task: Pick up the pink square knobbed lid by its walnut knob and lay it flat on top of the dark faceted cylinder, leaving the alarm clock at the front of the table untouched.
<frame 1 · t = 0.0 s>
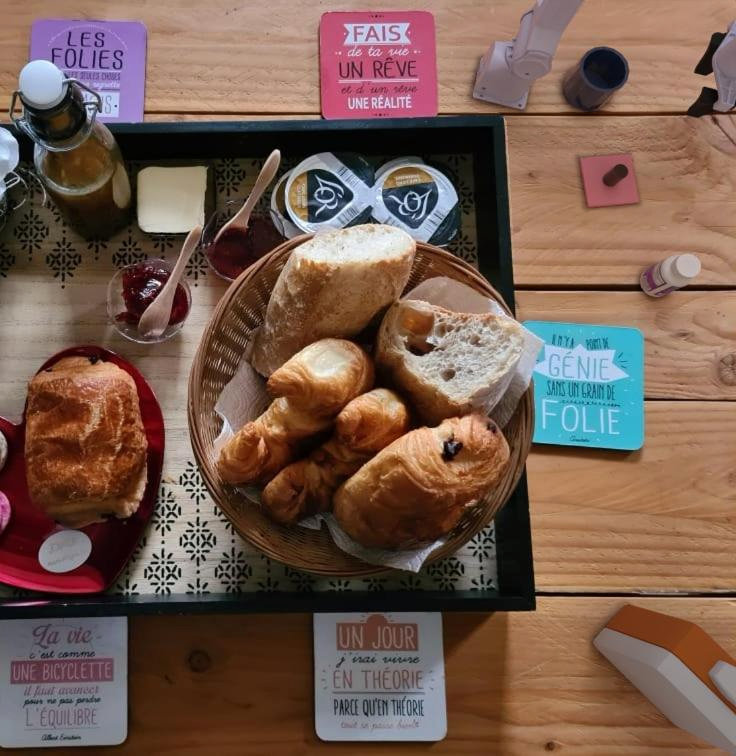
hand: (696, 93, 120), 10 cm above the table, tool pointing down, fingers open, 7 cm apart
pill bottle: (653, 282, 126), on the table
pink square knobbed lid: (608, 181, 128), on the table
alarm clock: (648, 662, 116), on the table
dark faceted cylinder: (585, 89, 131), on the table
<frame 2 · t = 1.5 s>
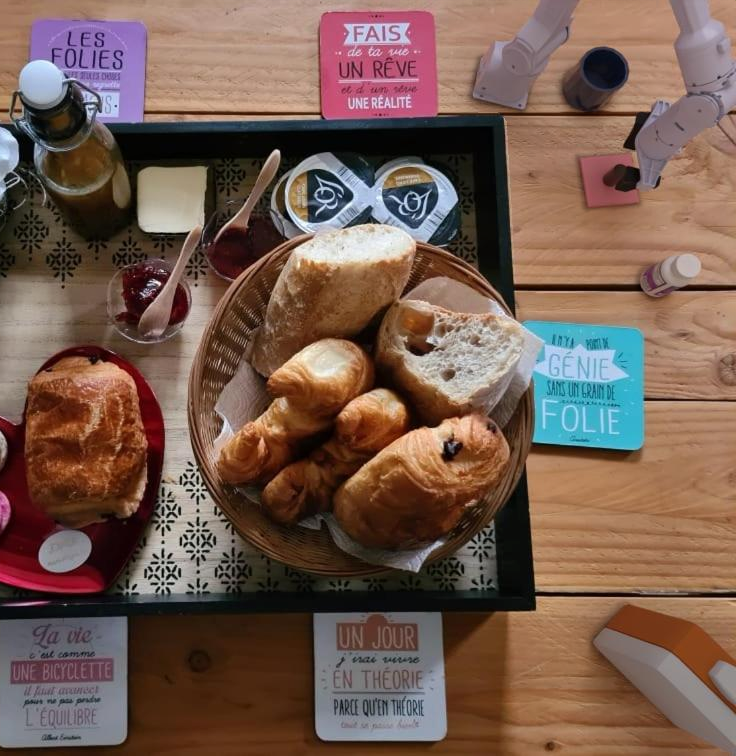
hand: (624, 168, 123), 5 cm above the table, tool pointing down, fingers open, 7 cm apart
nothing on the table moved.
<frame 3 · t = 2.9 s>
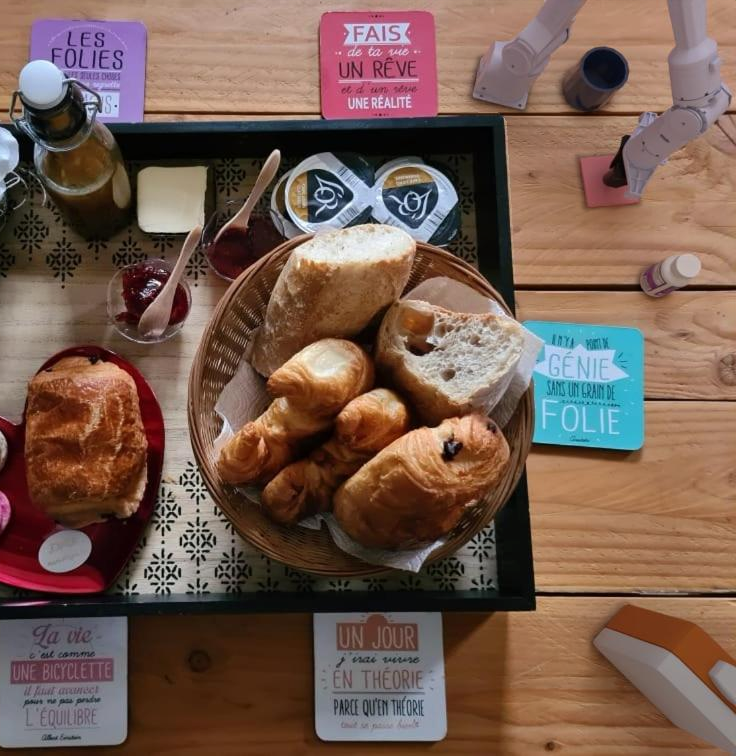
hand: (613, 176, 126), 2 cm above the table, tool pointing down, fingers closed on pink square knobbed lid, 2 cm apart
pink square knobbed lid: (608, 181, 128), on the table, touching gripper
everything else where it was.
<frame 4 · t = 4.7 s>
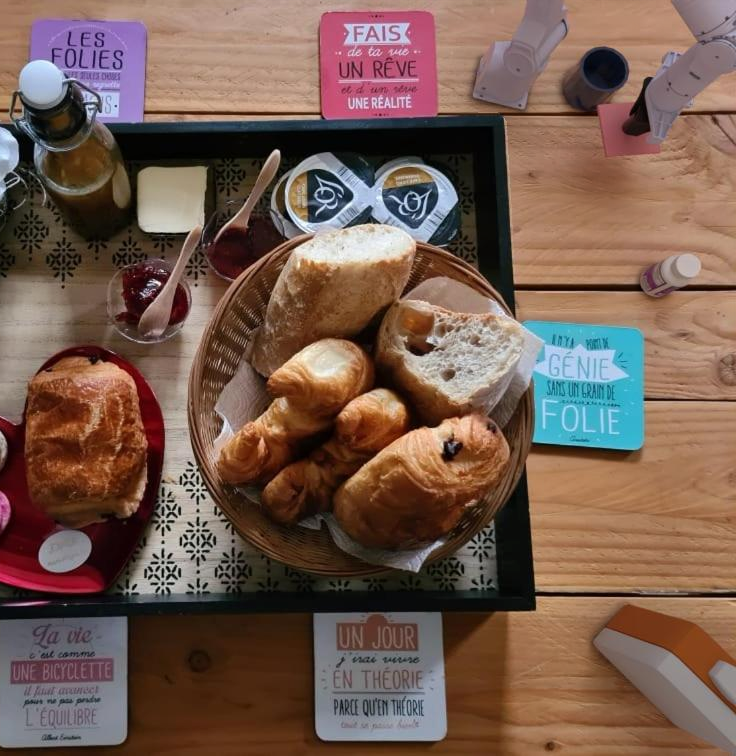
hand: (633, 124, 119), 10 cm above the table, tool pointing down, fingers closed on pink square knobbed lid, 2 cm apart
pink square knobbed lid: (627, 129, 121), point 9 cm above the table, touching gripper
everything else where it was.
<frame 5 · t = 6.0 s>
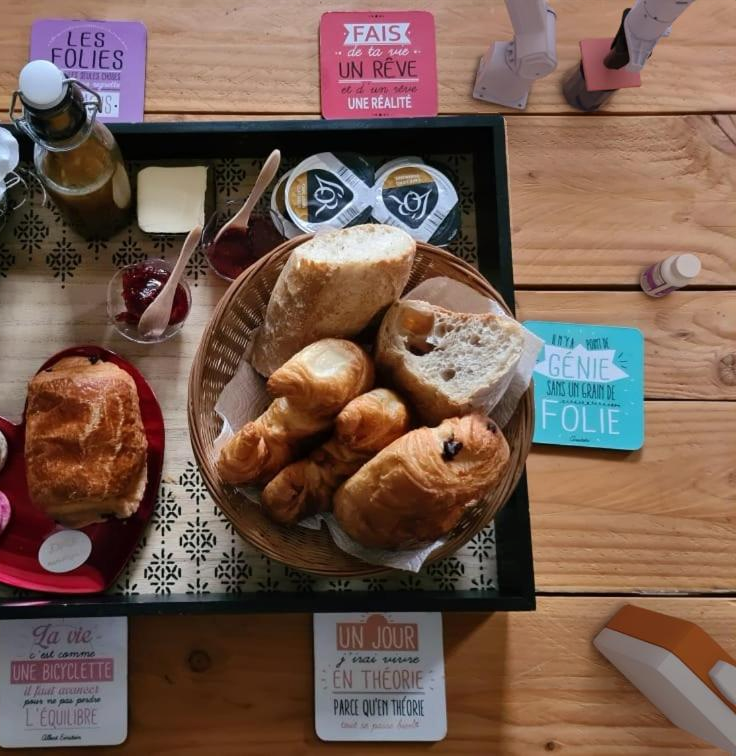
hand: (614, 58, 121), 10 cm above the table, tool pointing down, fingers closed on pink square knobbed lid, 2 cm apart
pink square knobbed lid: (609, 64, 123), point 8 cm above the table, touching gripper
everything else where it was.
when the fingers open (8 cm above the table, at t = 6.8 s): pink square knobbed lid stays where it is, resting on dark faceted cylinder.
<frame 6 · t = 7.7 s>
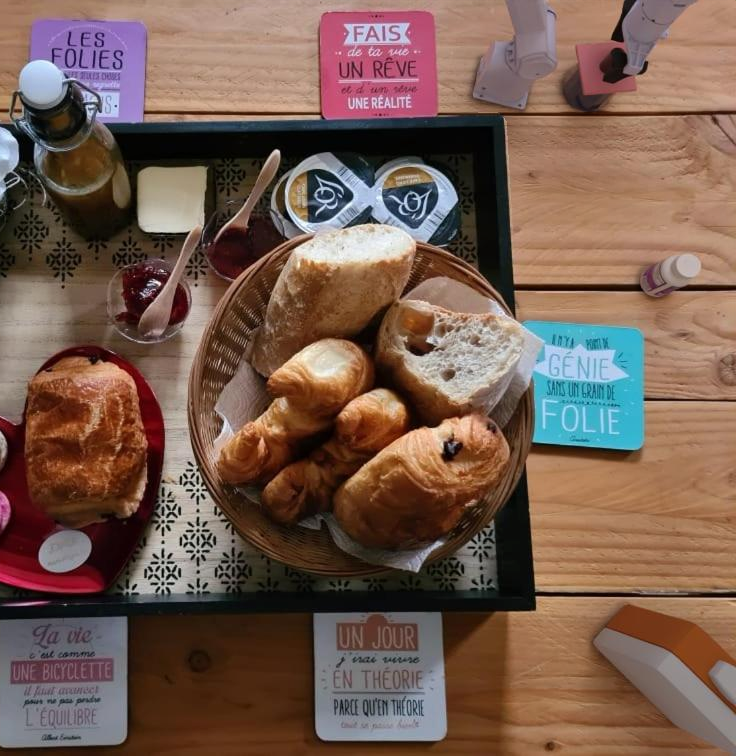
hand: (612, 60, 122), 9 cm above the table, tool pointing down, fingers open, 7 cm apart
pink square knobbed lid: (605, 68, 124), point 6 cm above the table, touching dark faceted cylinder
dark faceted cylinder: (585, 89, 131), on the table, touching pink square knobbed lid
everything else where it was.
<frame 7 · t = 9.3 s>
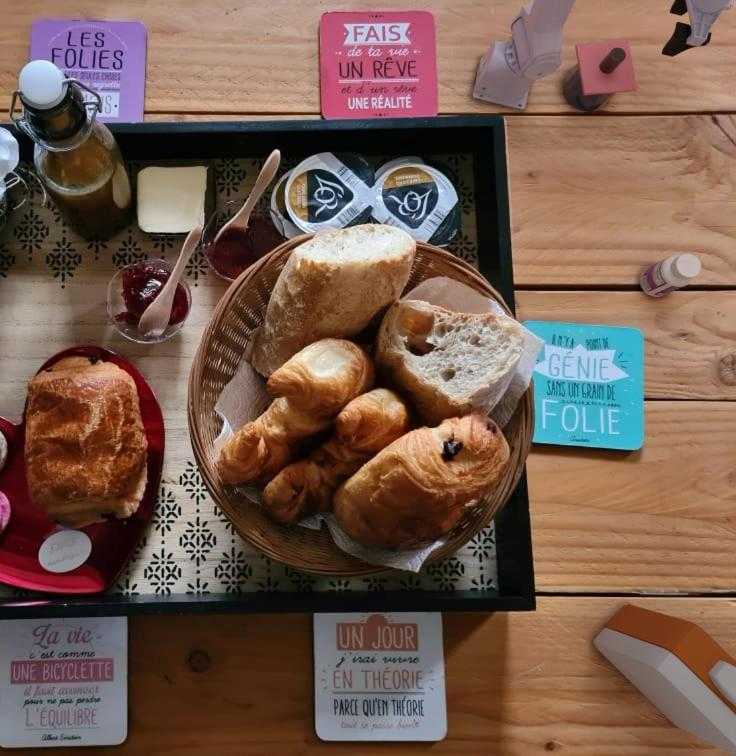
hand: (671, 33, 121), 10 cm above the table, tool pointing down, fingers open, 7 cm apart
nothing on the table moved.
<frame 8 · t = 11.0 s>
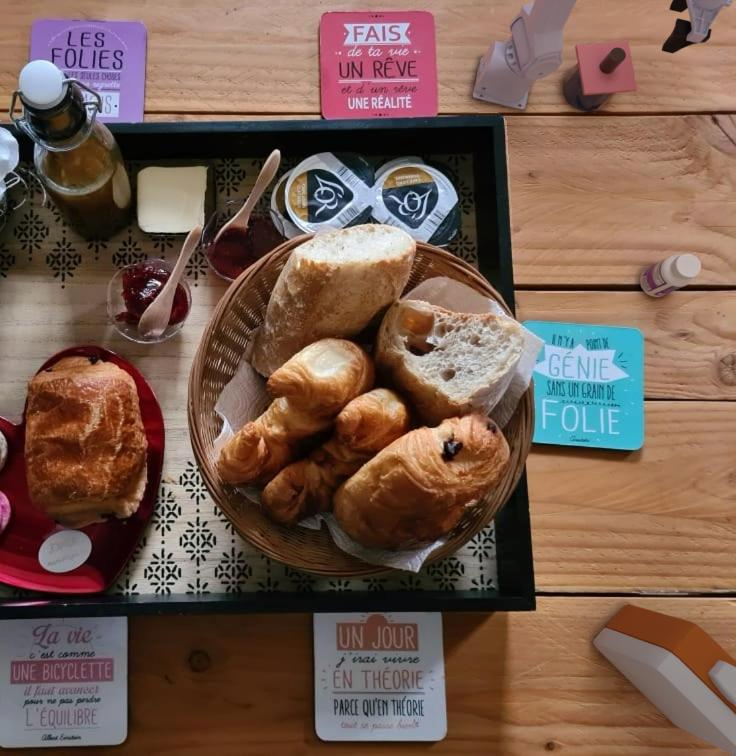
hand: (671, 29, 121), 10 cm above the table, tool pointing down, fingers open, 7 cm apart
nothing on the table moved.
at the end: pink square knobbed lid 0.1 cm off-centre on the dark faceted cylinder, point 6.5 cm above the dark faceted cylinder's base; pink square knobbed lid tilted 0°; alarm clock moved 0.2 cm from its start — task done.
